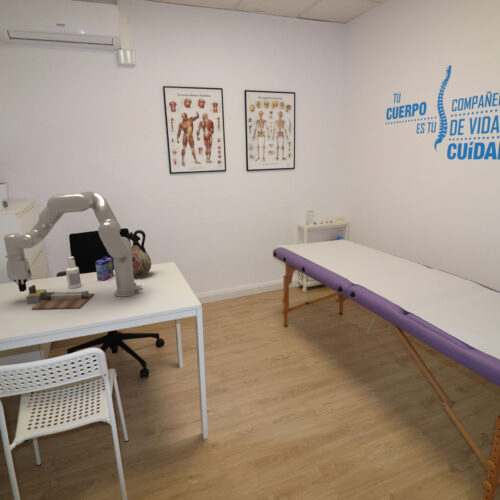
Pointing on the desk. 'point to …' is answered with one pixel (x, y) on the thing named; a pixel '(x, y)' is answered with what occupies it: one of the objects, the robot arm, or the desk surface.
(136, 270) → the ceramic jug
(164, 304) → the desk surface
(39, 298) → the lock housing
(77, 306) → the tong board
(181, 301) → the desk surface
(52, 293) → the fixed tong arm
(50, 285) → the desk surface
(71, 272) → the spray bottle
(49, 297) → the tong arm
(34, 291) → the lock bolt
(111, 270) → the ink cartridge box
